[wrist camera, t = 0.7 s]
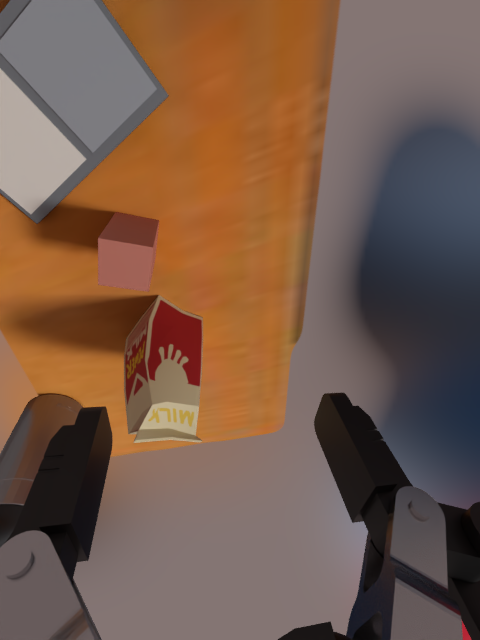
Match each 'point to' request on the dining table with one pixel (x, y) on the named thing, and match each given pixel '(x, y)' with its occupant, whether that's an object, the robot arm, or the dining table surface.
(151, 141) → the dining table surface
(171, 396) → the milk carton
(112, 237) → the pink rectangular block
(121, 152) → the dining table surface
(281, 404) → the dining table surface
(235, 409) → the dining table surface
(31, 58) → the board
